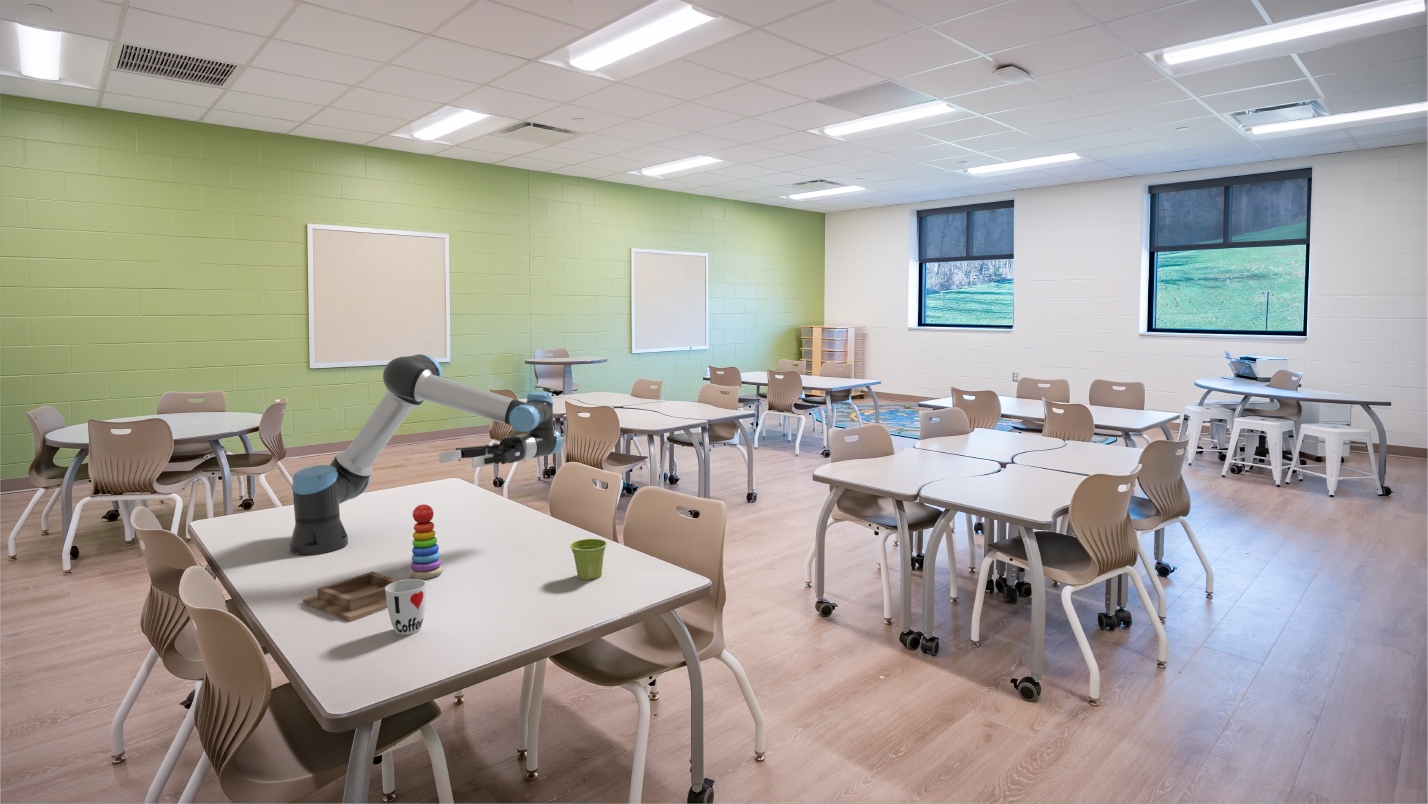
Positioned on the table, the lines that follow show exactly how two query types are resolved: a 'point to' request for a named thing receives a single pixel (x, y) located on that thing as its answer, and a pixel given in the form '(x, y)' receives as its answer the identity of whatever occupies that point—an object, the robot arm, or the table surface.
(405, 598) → the cup
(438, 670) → the table surface
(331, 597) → the walnut jig
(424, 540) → the stacking toy
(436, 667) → the table surface
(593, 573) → the plant pot
